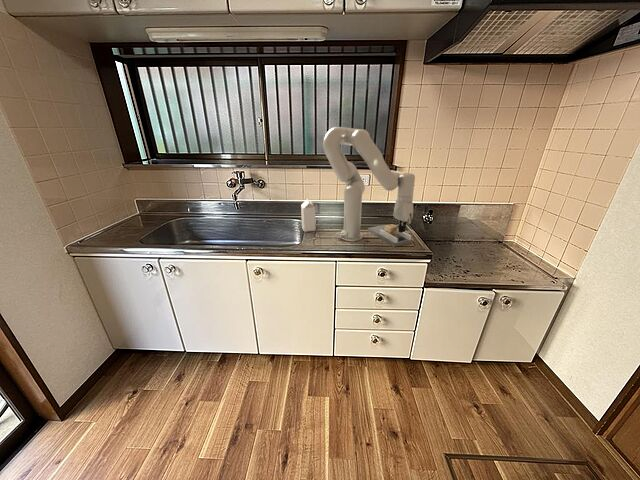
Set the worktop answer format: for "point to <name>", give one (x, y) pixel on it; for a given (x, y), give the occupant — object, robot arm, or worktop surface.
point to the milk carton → (308, 216)
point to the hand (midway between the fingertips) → (401, 231)
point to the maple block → (391, 229)
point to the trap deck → (391, 236)
